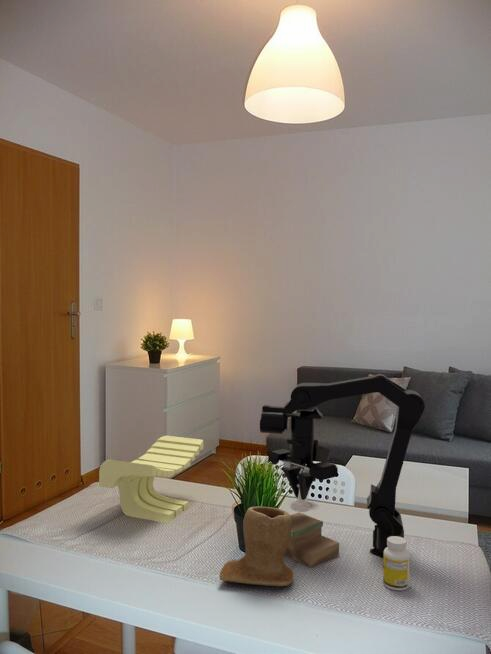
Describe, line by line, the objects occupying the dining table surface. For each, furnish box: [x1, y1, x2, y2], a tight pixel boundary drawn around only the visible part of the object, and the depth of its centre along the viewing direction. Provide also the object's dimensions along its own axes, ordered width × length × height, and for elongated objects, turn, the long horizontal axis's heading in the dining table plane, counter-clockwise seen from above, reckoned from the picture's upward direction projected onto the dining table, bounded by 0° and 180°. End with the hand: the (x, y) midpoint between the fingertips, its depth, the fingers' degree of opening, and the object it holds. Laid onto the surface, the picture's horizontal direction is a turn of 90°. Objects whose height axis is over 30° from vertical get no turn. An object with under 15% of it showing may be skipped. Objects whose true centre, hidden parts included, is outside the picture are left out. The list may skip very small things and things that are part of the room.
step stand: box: [284, 512, 340, 568], centre depth 136 cm, size 13×10×6 cm
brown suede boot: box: [219, 506, 295, 587], centre depth 123 cm, size 15×12×15 cm
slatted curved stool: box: [98, 435, 204, 524], centre depth 162 cm, size 30×16×18 cm, turn 159°
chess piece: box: [290, 468, 312, 513], centre depth 140 cm, size 5×5×10 cm
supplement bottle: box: [382, 536, 411, 591], centre depth 121 cm, size 5×5×10 cm
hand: (300, 498), depth 140 cm, fingers closed on chess piece
